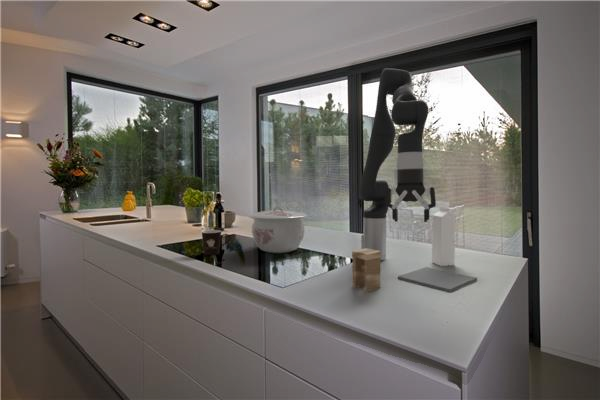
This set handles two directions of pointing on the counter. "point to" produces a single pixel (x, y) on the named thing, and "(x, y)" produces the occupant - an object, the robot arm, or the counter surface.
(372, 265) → the tan notched block
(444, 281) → the mat
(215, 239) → the coffee mug
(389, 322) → the counter surface
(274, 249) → the chamber pot
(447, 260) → the milk
